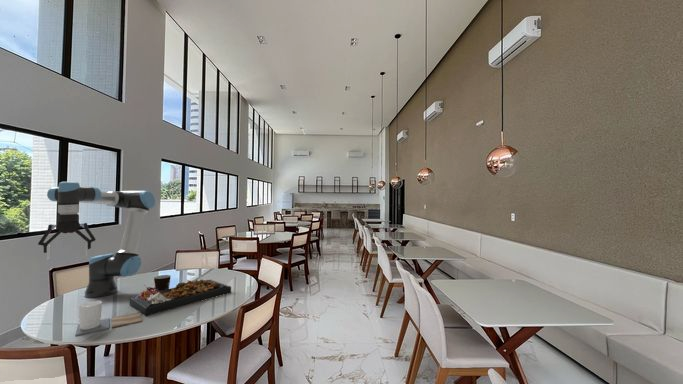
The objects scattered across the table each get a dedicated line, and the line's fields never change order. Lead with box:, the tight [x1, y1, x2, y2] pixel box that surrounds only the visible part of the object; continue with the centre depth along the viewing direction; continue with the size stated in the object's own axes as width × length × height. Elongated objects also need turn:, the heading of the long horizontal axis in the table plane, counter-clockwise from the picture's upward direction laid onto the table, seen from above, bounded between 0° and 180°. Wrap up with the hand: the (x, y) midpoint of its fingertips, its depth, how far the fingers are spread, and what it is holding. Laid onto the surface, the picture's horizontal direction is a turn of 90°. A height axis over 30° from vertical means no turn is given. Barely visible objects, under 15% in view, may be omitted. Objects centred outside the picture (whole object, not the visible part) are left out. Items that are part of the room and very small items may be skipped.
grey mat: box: [75, 317, 110, 337], centre depth 130 cm, size 13×11×1 cm
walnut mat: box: [111, 311, 143, 329], centre depth 138 cm, size 13×11×1 cm
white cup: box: [78, 300, 103, 330], centre depth 130 cm, size 8×8×10 cm
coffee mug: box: [153, 274, 171, 291], centre depth 178 cm, size 12×9×10 cm
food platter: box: [128, 279, 232, 317], centre depth 167 cm, size 45×25×10 cm, turn 141°
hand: (68, 257), depth 142 cm, fingers open, 13 cm apart
